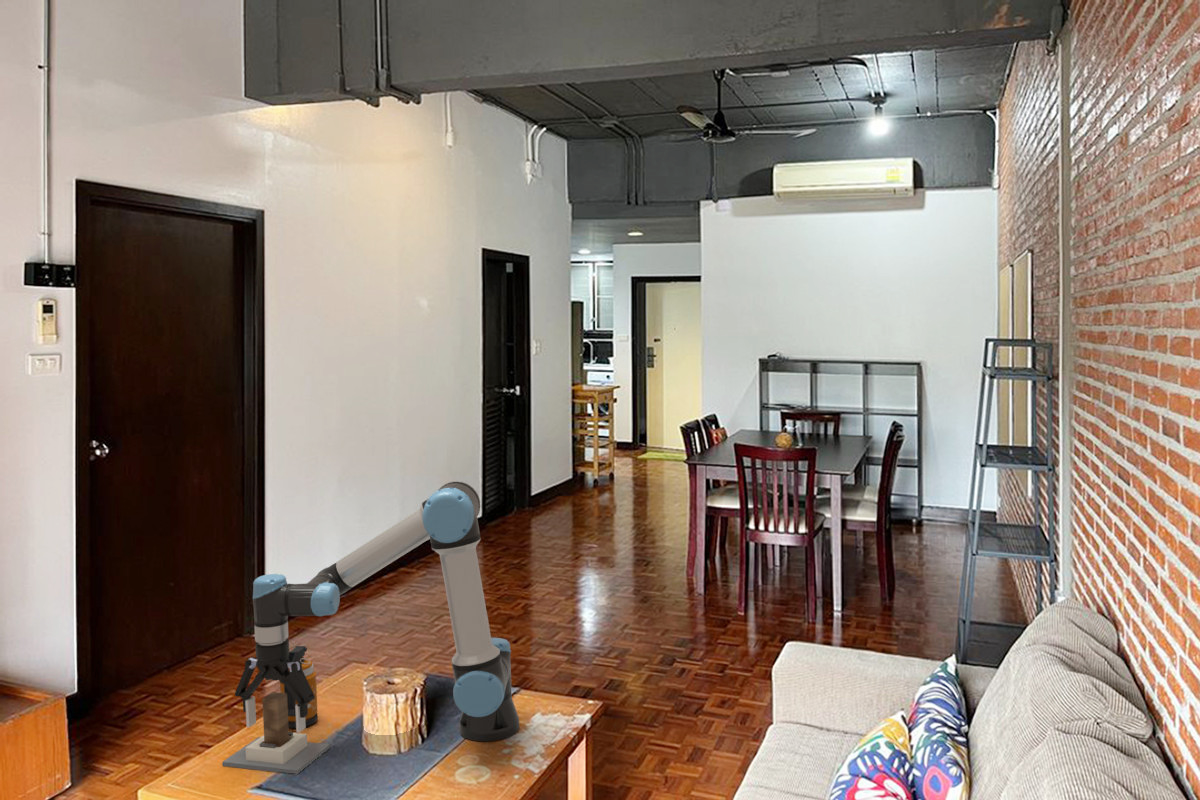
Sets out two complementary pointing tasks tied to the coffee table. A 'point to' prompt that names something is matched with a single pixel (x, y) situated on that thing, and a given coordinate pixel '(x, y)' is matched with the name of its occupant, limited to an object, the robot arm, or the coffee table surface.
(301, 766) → the grey plate
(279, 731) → the wooden block
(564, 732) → the coffee table surface
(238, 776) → the coffee table surface
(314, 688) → the canister
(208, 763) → the coffee table surface
